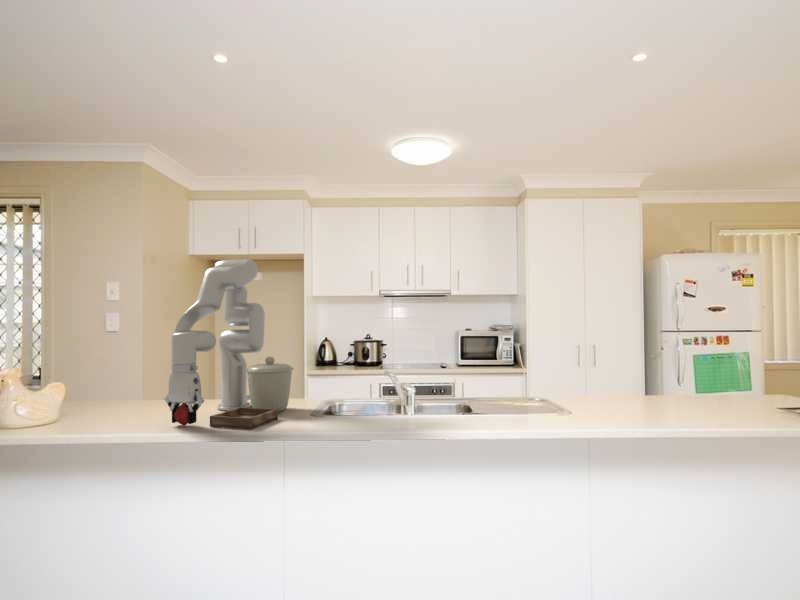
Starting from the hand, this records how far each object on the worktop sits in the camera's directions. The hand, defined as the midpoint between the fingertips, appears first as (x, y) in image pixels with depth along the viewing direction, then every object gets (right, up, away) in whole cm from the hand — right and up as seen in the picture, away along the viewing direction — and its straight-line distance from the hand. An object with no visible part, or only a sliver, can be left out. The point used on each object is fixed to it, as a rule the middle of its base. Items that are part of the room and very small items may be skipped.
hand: (184, 421), depth 154 cm
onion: (0, -1, 0) cm, 1 cm away
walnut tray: (+19, -1, +4) cm, 20 cm away
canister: (+22, -2, +24) cm, 33 cm away
